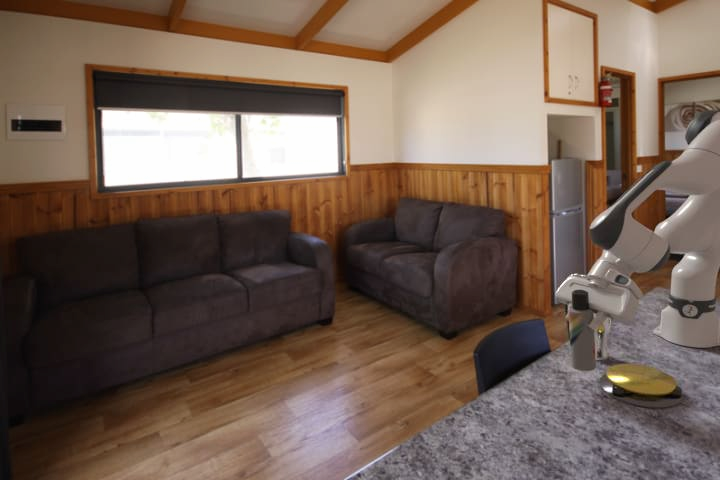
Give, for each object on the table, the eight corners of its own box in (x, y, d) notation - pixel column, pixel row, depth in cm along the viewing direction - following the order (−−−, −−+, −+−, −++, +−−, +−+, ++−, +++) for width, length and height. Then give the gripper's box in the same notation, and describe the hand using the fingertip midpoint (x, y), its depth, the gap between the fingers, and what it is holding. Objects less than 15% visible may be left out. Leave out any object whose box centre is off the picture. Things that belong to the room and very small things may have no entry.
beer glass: (612, 361, 133) (615, 312, 130) (586, 361, 134) (588, 311, 131) (605, 351, 139) (607, 304, 137) (580, 350, 141) (581, 303, 138)
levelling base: (607, 367, 130) (607, 355, 129) (685, 383, 119) (686, 371, 118) (592, 395, 116) (593, 382, 115) (679, 416, 105) (680, 403, 104)
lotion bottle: (593, 362, 121) (589, 287, 118) (598, 371, 115) (594, 293, 113) (569, 362, 122) (565, 288, 120) (573, 371, 117) (569, 294, 115)
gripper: (566, 265, 127) (540, 306, 125) (639, 282, 109) (610, 330, 107) (577, 278, 130) (551, 318, 128) (649, 296, 112) (621, 343, 110)
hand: (578, 324), depth 117 cm, fingers closed on lotion bottle, 5 cm apart
